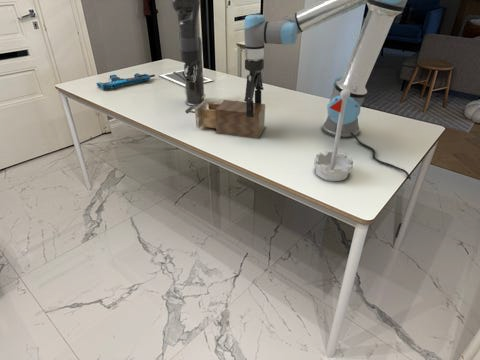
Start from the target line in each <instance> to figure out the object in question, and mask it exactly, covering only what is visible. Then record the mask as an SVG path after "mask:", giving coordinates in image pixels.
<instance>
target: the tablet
mask: <svg viewBox="0 0 480 360" xmlns="http://www.w3.org/2000/svg"><path fill="white" fill-rule="evenodd" d="M173 72H175V73H177V74H178V75H180V76H181V77H183V78H184V79H185V77H184V76H183V72H184V69H182V70H181V69H180V70H176V71H172V72H167V73H163V74H158V76H159V77H161V78H163V79H165V80H167V81H170V82H173V83H175V84H177V85H179V86H182V87H184V88H186V86H185V81H184V80H183V79H182V78H181V77H179V76H178V75H176V74H175V73H173ZM203 82H204V84H205V83H206V84H207V83H210V82H214V80H213V79H211V78H208V77H206V76H203Z"/></svg>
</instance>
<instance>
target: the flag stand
mask: <svg viewBox="0 0 480 360" xmlns="http://www.w3.org/2000/svg"><path fill="white" fill-rule="evenodd" d="M340 96H341V98H342V99H341V100H340V101H338V102H337V103H335V104H334V105H332V106H331V107H329V108H331V109H333V110H335V111H337V112H340V113H339V119H338V125H337V131H336V137H335V138H334V143H333V150H326V151H325V152H326V153H323V152H322V151H319V152H317V153H316V156H315V157H314V159H313V160H314V161H313V165H314V168H315V173H316V175H317V176H318V177H319V178H321V179H322V180H325V181H330V182H340V181H341V182H342V181H343V180H346V179H347V177H348V175H349V173H351V172H352V170H353V166H354V159H353V158H352V157H348V154H347V153H344V152H339V147H340V146H339V145H340V141H341V138H340V135H341V130H342V124H343V118H344V113H345V107H346V101H347V98H349V96H350V92H349V90H347V89H344V90H342V91H341V93H340ZM338 152H339V153H338Z"/></svg>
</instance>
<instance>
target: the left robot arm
mask: <svg viewBox="0 0 480 360" xmlns="http://www.w3.org/2000/svg"><path fill="white" fill-rule="evenodd" d="M171 7H172V9H173V12H175V13H176V20H177V21H176V22H177V37H178V50H179V53H180V60H181V61H182V62H183V63H184V64H183V70H184V72H183V76H184V77H185V79H184V78H183V77H181V76H180V75H178V74H177V73H175V72H176V71H172V72H173V73H175V74H176V75H178V76H179V77H181V78H182V79H183V80H184V81H185V86H186V87H185V96H186V97H185V98H186V104H187V105H188V106H193V107H197V106H198V105H200V104H201V103H202V102H203V101H206V99H205V98H206V93H205V83H204V82H203V77H204V71H203V69H204V68H203V45H202V42H203V41H202V37H201V36H200V35H199V34H198V18H199V17H198V16H199V11H200V7H201V0H171Z"/></svg>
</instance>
